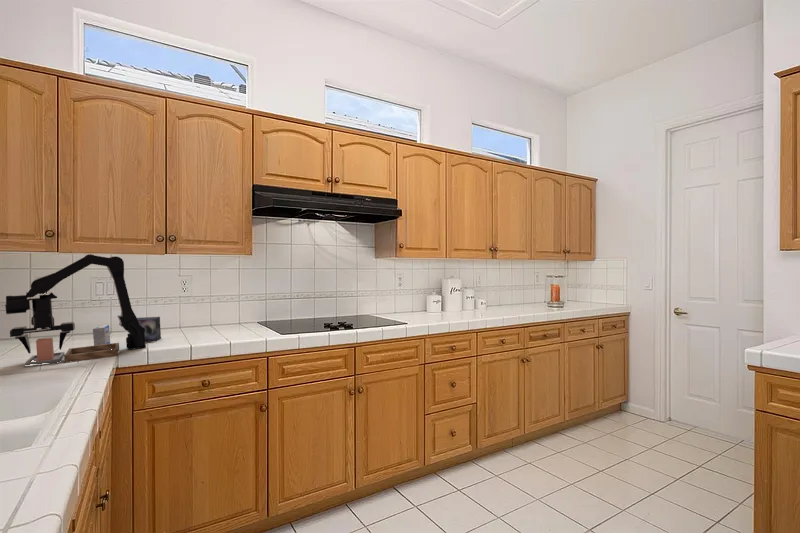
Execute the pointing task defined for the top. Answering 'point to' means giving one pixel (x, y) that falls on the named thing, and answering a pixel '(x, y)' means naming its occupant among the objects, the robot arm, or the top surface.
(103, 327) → the medicine box
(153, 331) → the small box
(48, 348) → the brick block
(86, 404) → the top surface
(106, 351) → the frame
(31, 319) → the robot arm
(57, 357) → the charcoal tray
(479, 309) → the top surface
